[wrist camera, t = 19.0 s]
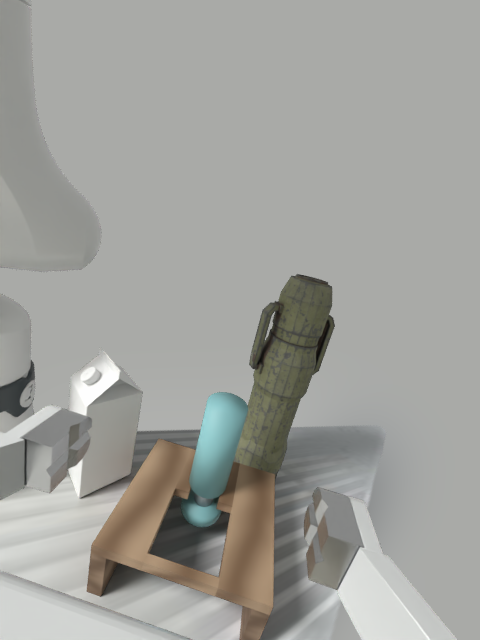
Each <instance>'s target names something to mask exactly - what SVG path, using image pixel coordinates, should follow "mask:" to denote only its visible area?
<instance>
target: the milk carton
mask: <svg viewBox="0 0 480 640" xmlns="http://www.w3.org/2000/svg"><path fill="white" fill-rule="evenodd" d="M142 394H143V392H142V391H141V390H140V388H139V387H138V386H137V385H136V383H135V382H134V381H133V380H132V379H131V378H130V376H129V375H128V374H127V373H126V372H125V371H124V369H123V368H121V367H120V366H118V365H117V364H115V363H114V362H113V361H112V360H111V359H110V357H109V356H108V355H107V354H106V353H105V351H104V350H103V349H102V348H100V351H99V355H98V356H96V357H95V358H94V359H92V360H91V361H90V362H89V363H87V364H86V365H85V366H84V367H82V368H81V369H80V370H79V371H77V372H76V373H75V374H74V375H72V376H71V379H70V394H69V410H70V411H73V412H76V413H79V414H82V415H85V416H88V417H90V418H91V419H92V427H91V428H90V429H89V430H88V433H89V435H90V437H91V440H90V445H89V448H88V450H87V452H86V454H85V455H84V457H83V459H82V460H81V461H80V462H79V463H78V464H77V465H76V466H74V467H71V468H69V469H68V471H69V474H70V477H71V479H72V482H73V485H74V487H75V490H76V493H77V495H78V497H79V498H81V497H83V496H85V495H87V494H89V493H91V492H94V491H96V490H98V489H100V488H102V487H104V486H106V485H108V484H111V483H113V482H115V481H117V480H119V479H121V478H123V477H125V476H128V475H130V474H131V467H132V461H133V454H134V447H135V441H136V434H137V427H138V420H139V414H140V407H141V400H142Z"/></svg>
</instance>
